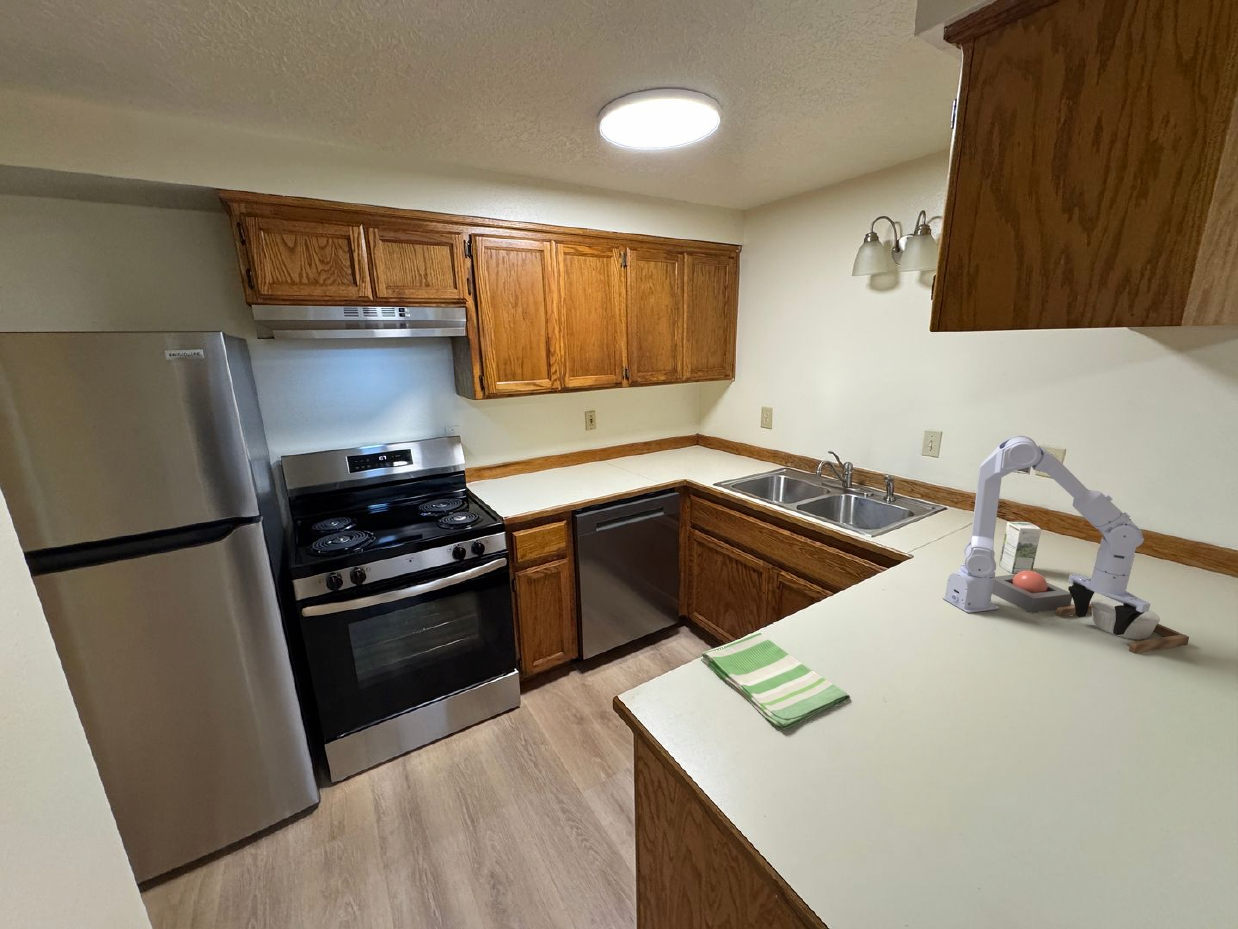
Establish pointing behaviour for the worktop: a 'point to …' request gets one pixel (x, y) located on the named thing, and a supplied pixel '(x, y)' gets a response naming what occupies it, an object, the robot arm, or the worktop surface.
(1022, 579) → the salmon pink ball
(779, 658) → the dish towel
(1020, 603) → the base
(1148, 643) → the bent wooden slat
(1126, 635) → the ramekin
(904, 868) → the worktop surface
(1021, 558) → the syrup box
